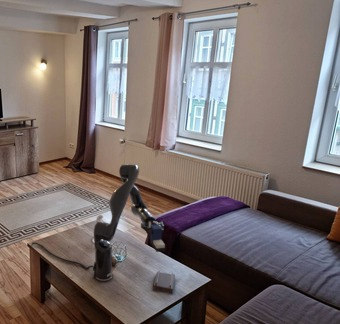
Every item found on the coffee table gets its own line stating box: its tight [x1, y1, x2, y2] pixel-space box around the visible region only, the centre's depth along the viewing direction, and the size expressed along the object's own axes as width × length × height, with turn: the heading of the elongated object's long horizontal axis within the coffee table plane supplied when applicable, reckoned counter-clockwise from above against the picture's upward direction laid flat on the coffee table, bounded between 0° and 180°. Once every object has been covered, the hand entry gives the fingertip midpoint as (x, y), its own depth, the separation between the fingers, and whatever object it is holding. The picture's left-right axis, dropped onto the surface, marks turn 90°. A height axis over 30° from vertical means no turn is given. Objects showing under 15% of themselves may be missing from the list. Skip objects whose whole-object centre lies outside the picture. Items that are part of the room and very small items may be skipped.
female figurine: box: [88, 213, 104, 244], centre depth 222 cm, size 11×16×20 cm
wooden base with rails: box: [152, 270, 176, 294], centre depth 181 cm, size 10×13×4 cm
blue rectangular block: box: [149, 225, 166, 253], centre depth 190 cm, size 11×5×11 cm, turn 10°
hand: (157, 232), depth 189 cm, fingers closed on blue rectangular block, 5 cm apart
